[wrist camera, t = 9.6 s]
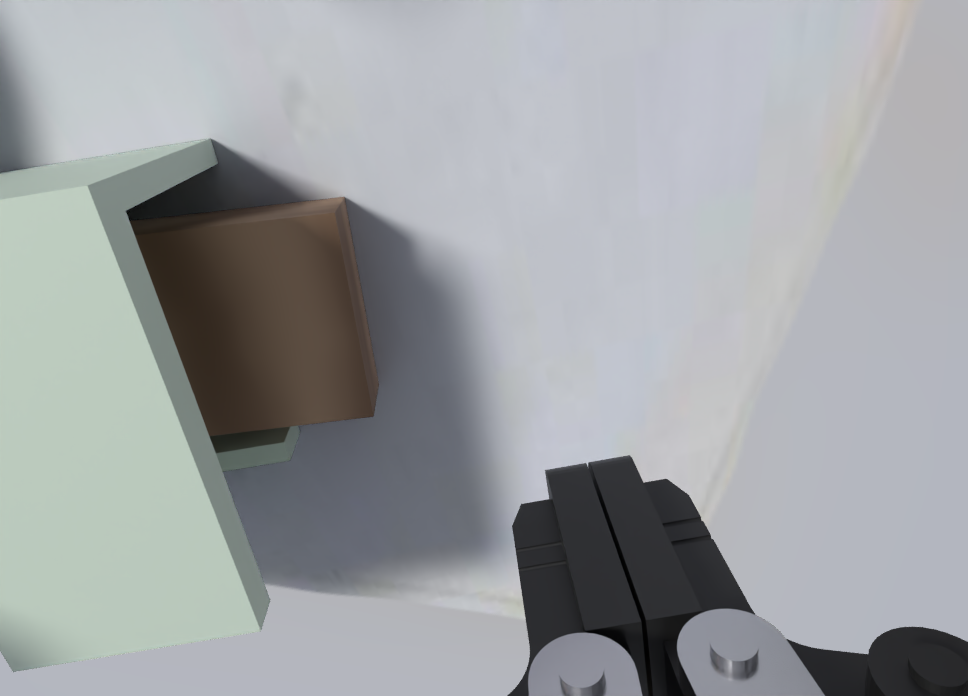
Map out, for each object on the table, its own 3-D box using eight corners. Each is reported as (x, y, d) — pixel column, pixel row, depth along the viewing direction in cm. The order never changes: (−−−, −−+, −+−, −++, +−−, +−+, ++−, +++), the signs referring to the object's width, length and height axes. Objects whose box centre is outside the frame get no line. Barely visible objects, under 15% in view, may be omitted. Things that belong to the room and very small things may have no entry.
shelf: (210, 138, 27) (87, 185, 17) (310, 466, 34) (260, 631, 24) (-10, 174, 27) (-254, 241, 17) (133, 495, 34) (13, 672, 24)
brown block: (345, 194, 29) (334, 212, 26) (379, 380, 32) (373, 416, 29) (64, 226, 28) (18, 248, 25) (130, 410, 32) (97, 449, 29)
